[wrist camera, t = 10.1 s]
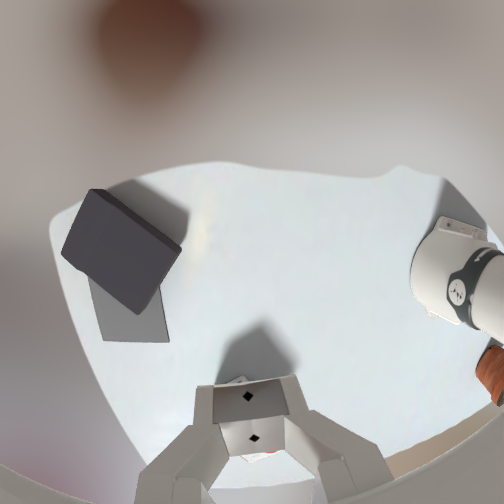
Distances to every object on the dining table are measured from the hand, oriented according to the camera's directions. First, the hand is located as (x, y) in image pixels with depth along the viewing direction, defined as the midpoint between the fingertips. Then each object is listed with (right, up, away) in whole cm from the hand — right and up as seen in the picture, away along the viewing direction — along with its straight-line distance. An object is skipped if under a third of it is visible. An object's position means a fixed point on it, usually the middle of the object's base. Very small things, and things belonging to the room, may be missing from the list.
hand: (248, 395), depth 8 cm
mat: (-19, -1, +30) cm, 36 cm away
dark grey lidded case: (-12, 0, +27) cm, 30 cm away
